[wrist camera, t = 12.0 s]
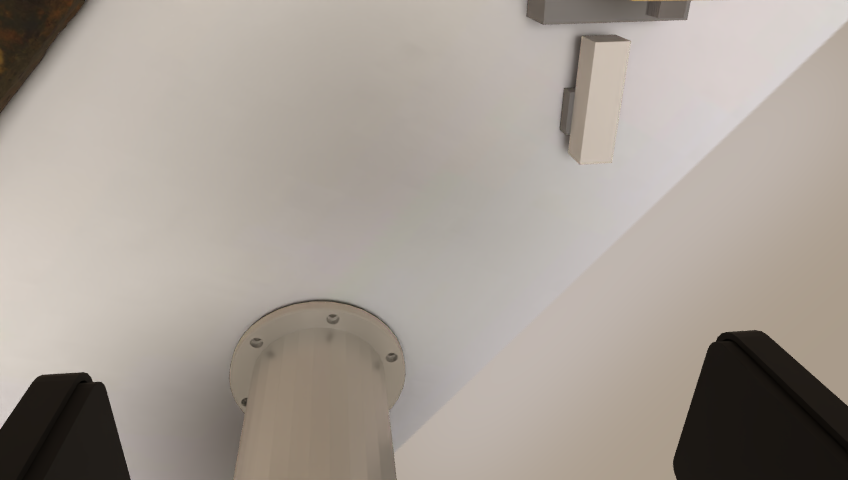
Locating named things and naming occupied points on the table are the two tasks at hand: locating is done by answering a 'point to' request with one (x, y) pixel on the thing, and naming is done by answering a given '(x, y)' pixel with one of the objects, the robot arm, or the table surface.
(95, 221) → the table surface
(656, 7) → the tan wooden block
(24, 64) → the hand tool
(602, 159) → the socket
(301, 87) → the table surface
